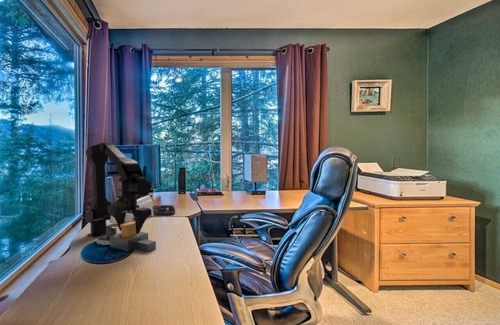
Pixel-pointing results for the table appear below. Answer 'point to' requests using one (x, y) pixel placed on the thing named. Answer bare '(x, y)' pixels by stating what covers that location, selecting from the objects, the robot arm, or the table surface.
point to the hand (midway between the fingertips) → (129, 232)
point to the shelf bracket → (142, 202)
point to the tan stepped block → (128, 229)
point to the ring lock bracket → (127, 240)
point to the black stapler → (163, 210)
